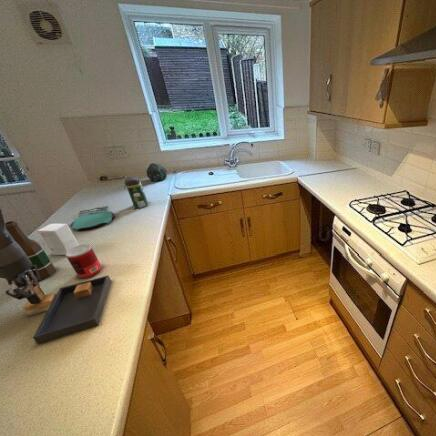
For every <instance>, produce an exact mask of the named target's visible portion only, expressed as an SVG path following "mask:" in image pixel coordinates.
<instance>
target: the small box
mask: <svg viewBox="0 0 436 436" xmlns="http://www.w3.org/2000/svg"><path fill="white" fill-rule="evenodd" d="M37 231H38V233H39V235H40V237H41V238H42V240H43V241H44V243H45V244H46V246H47V247H48V249H49V251H50V252H51V254H52V255H53V256H66V253H67V252H68V251H69V250H70V249H72V248H74V247H76V246H79V245H80V243H79V242H78V240H77V239H76V236H75V235H74V233H73V232H72V230H71V229H70V226H69V225H68V223H49V224H48V225H45V226H44V227H41V228H40V229H38V230H37Z"/></svg>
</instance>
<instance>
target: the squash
mask: <svg viewBox="0 0 436 436" xmlns="http://www.w3.org/2000/svg"><path fill="white" fill-rule="evenodd" d="M146 176H147V178H148V179H149V180H150V181H152V182H159V181H163V180H166V179H167V177H168V172H167V169H166V168H165V167H164V166H163V165H161V164H158V163H154V162H153V163H150V164H149V165H148V167H147V169H146Z"/></svg>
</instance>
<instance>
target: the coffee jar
mask: <svg viewBox="0 0 436 436" xmlns="http://www.w3.org/2000/svg"><path fill="white" fill-rule="evenodd" d="M124 184H125V185H124V186H125V187H126V190H127V192H128V194H129V197H130V199H131V202H132V205H133V207H134V208H135V209H141V208H145V207H147V206H148V204H149V202H148V199H147V197H146V194H145V191H144V188H143V184H142V182H141V180H140V177H138V176H136V175H133V176H128V177H126V178H125V180H124Z"/></svg>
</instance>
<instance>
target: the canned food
mask: <svg viewBox="0 0 436 436" xmlns="http://www.w3.org/2000/svg"><path fill="white" fill-rule="evenodd" d="M65 257H66V258H67V261H68V262H69V264H70V265H71V267H72V269H73V270H74V271H75V273H76V275H77V276H78V277H79V278H80V279H89V278H91V277H94V276H96V275H97V274H99V273H100V272H101V271H102V265H101V262H100V260H99V258H98V256H97V255H96V252H95V251H94V249H93V247H92V246H91V245H90V244H88V243H87V244H86V243H85V244H79V246H76V247H74V248H72V249H70V250H69V251H68V252H67V253H66V255H65Z"/></svg>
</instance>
